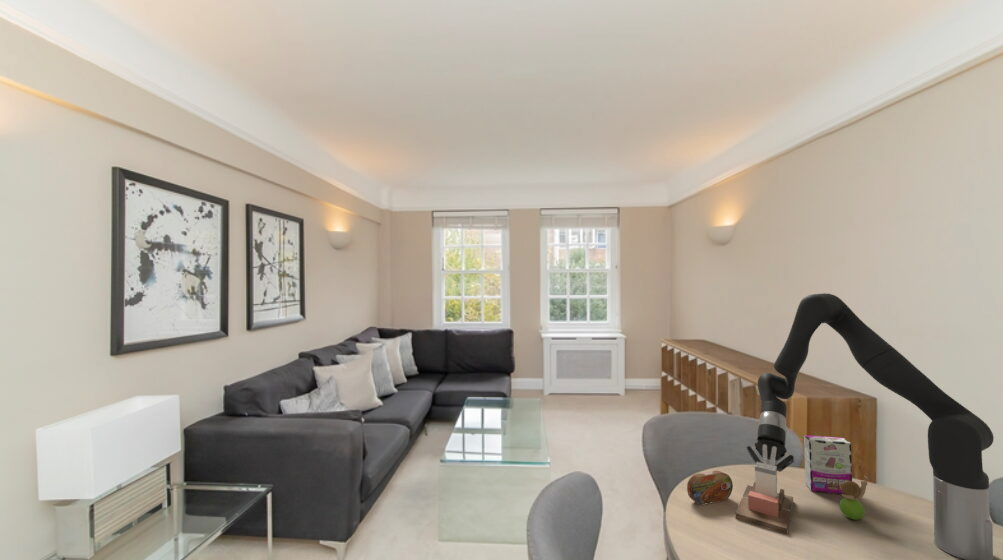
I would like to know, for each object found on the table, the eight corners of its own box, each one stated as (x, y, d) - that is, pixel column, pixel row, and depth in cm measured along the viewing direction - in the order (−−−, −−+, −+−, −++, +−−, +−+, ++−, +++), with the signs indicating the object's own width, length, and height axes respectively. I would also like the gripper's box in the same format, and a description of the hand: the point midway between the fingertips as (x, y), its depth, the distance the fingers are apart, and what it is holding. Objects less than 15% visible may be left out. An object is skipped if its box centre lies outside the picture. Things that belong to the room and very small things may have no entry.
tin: (692, 507, 123) (692, 478, 123) (685, 501, 126) (684, 474, 126) (733, 499, 127) (733, 471, 127) (725, 494, 130) (725, 467, 130)
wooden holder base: (793, 502, 125) (793, 490, 125) (787, 534, 109) (786, 521, 109) (747, 489, 132) (747, 478, 132) (735, 518, 117) (735, 505, 117)
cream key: (777, 499, 123) (776, 466, 123) (775, 505, 120) (775, 471, 120) (757, 494, 126) (756, 461, 126) (755, 500, 123) (754, 466, 123)
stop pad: (778, 512, 117) (778, 498, 117) (777, 517, 114) (777, 503, 114) (750, 504, 121) (749, 490, 121) (748, 509, 119) (748, 495, 119)
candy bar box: (845, 488, 132) (844, 437, 132) (853, 496, 127) (852, 443, 127) (804, 484, 135) (803, 434, 135) (810, 491, 130) (809, 439, 130)
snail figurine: (874, 525, 112) (873, 481, 112) (847, 522, 114) (846, 479, 114) (861, 514, 118) (860, 472, 118) (835, 511, 119) (834, 470, 119)
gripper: (747, 419, 136) (740, 469, 127) (796, 427, 128) (793, 482, 118) (750, 430, 140) (744, 480, 131) (797, 439, 132) (795, 493, 123)
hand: (767, 481), depth 125 cm, fingers closed
